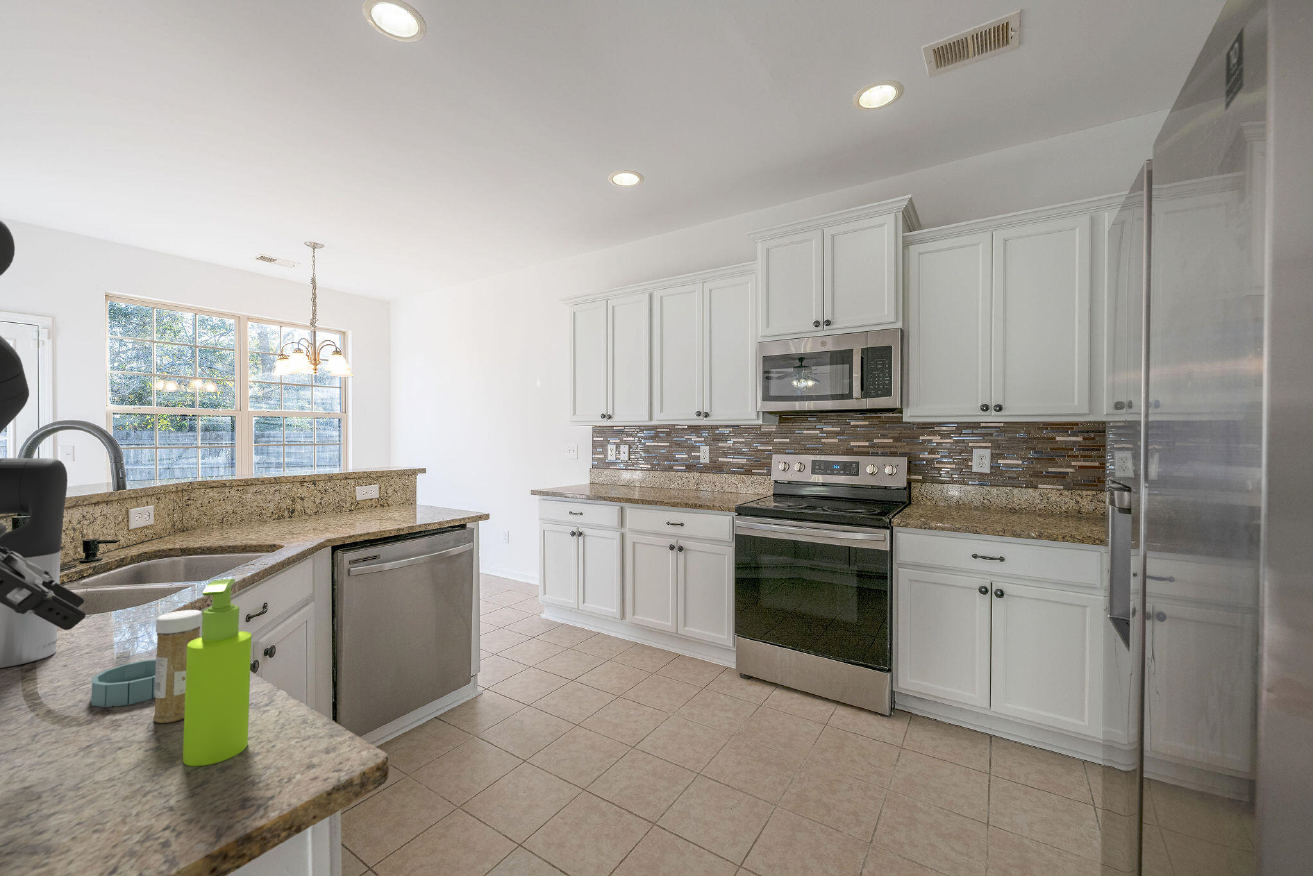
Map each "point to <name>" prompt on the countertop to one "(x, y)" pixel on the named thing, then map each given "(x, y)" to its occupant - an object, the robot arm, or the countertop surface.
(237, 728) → the soap dispenser
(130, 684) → the teal bowl
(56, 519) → the robot arm
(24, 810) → the countertop surface
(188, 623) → the sprinkles bottle
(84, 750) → the countertop surface
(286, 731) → the countertop surface
